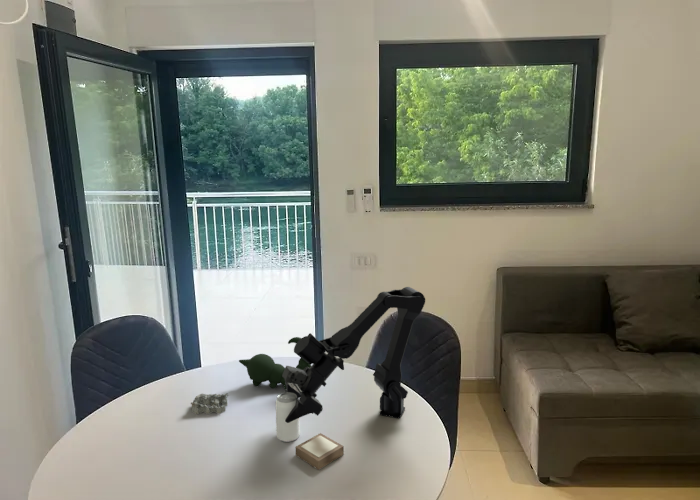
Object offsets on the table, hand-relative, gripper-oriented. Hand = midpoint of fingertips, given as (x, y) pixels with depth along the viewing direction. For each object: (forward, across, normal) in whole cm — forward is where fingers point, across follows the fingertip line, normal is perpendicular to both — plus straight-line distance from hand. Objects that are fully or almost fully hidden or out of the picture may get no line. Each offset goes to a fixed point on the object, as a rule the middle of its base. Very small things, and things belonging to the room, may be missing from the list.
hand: (282, 415), depth 142 cm
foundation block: (0, +12, +9) cm, 15 cm away
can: (+4, 0, +6) cm, 7 cm away
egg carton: (+17, -25, -7) cm, 31 cm away
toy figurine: (0, -31, +10) cm, 33 cm away
